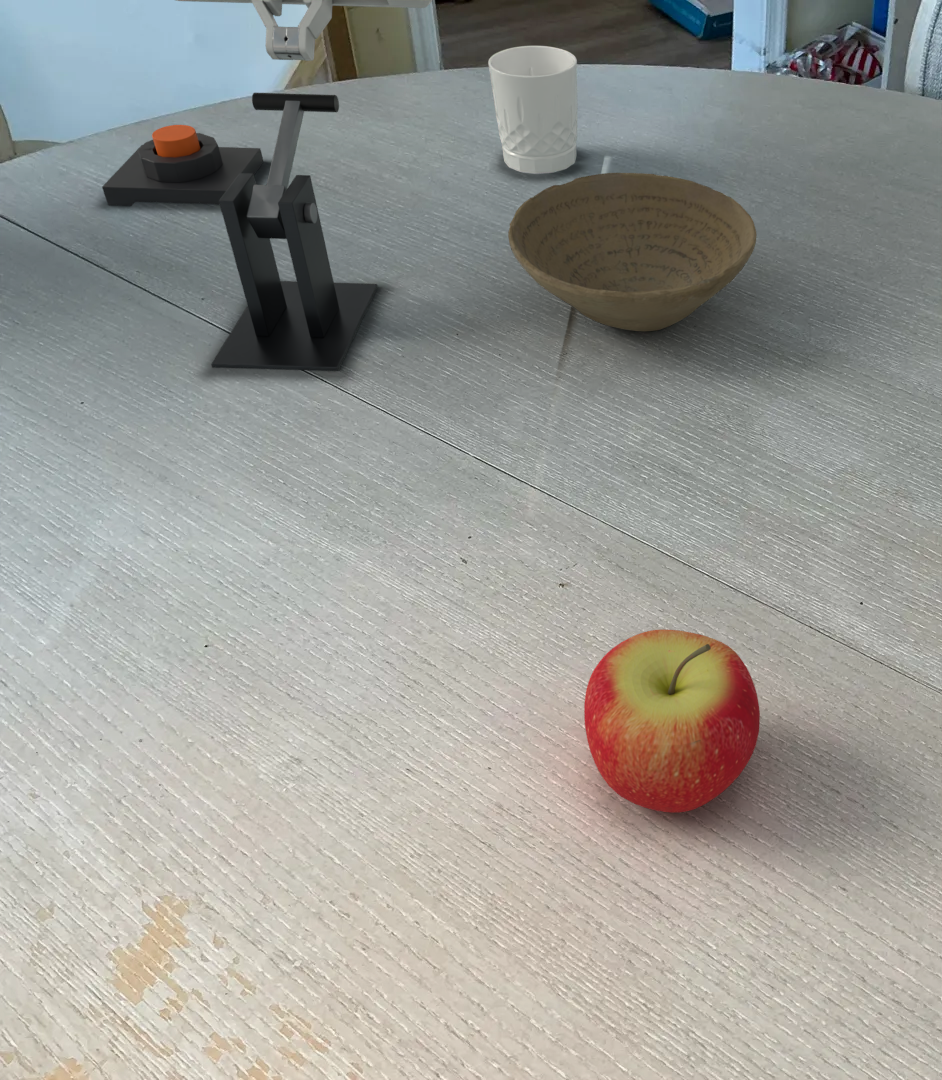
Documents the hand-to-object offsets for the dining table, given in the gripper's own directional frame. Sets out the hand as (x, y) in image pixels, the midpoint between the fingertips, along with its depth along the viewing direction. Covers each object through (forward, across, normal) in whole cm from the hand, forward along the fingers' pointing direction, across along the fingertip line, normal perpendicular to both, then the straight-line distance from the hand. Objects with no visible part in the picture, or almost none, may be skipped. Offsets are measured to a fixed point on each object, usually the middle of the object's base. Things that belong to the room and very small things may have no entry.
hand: (289, 56), depth 85 cm
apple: (+48, +30, -23) cm, 61 cm away
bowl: (+16, +25, +8) cm, 31 cm away
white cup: (-3, +14, +27) cm, 31 cm away
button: (0, -17, +20) cm, 26 cm away
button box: (+2, -17, +22) cm, 28 cm away
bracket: (+19, 0, +5) cm, 20 cm away
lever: (+8, 0, +1) cm, 8 cm away
